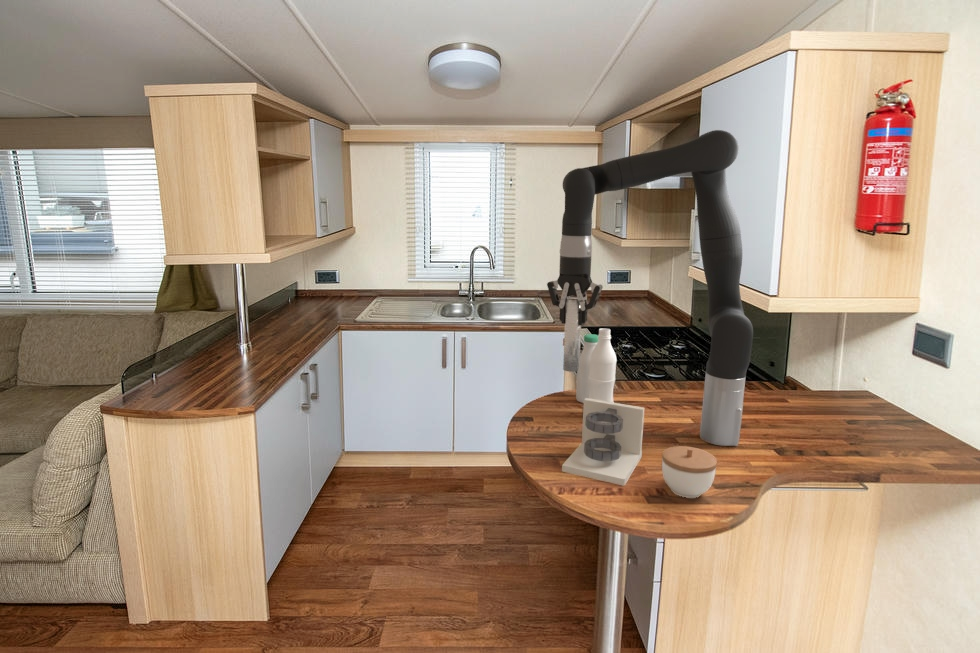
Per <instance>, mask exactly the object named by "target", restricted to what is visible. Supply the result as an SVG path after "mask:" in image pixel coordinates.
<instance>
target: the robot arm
mask: <svg viewBox="0 0 980 653" xmlns="http://www.w3.org/2000/svg"><path fill="white" fill-rule="evenodd" d="M739 149H740V145H739V143H738V139H737V138H736V137H735V135H733V134H732V133H731V132H728V131H726V130H722V129H715V130H711V131H707V132H706V133H703V134H701V135H699V136H697V137H696V138H695V139H693V140H690V141H687V142H685V143H682V144H679V145H676V146H672V147H667V148H664V149H660V150H659V149H658V150H653V151H649V152H644V153H639V154H633V155H629V156H623V157H620V158H617V159H612V160H610V161H606V162H604V163H601V164H597V165H591V166H587V167H581V168H580V167H579V168H574V169H572V170H570V171H569V172H567V174H565V175H564V178H563V179H562V189H563V192H564V212H563V214H562V219H561V220H562V221H561V225H562V226H561V240H560V248H559V269H558V270H559V271H558V272H559V276H558V277H557V279H556V280H552V281H549V282H547V283H546V286H547V289H548V292H549V296H550V300H551V304H552V305H553V306H556V307H558V308H559V321H560V322H561V324H564V325H565V306H566V299H567V298H570V297H575V298H578V302H579V304H580V309H581V310H580V316H579V325H581V327H582V326H584V325H585V324H586V323H587V321H588V310H591V309H593V308H595V307H596V305H597V302H598V300H599V297H600V295H601V293H602V290H603V285H602V284H597V283H594V282H593V280H592V277H591V275H592V274H591V270H592V250H593V246H592V245H593V243H592V242H593V240H592V232H593V231H592V227H593V225H592V224H593V209H594V202H595V195H599V194H602V193H607V192H617V191H620V190H626V189H629V188H633V187H637V186H641V185H645V184H648V183H651V182H655V181H657V180H662V179H664V178H665V179H666V178H669V177H672V176H677V175H681V174H687V173H691V176H692V181H693V185H694V190H695V196H696V210H697V214H696V215H697V221H698V222H697V223H698V235H699V236H698V238H699V247H700V256H701V260H702V267H703V268H702V269H703V273H704V277H705V282H706V287H707V293H708V323H707V324H708V325H707V326H708V333H709V334H710V337H711V339H710V348H709V349H710V350H709V356H708V360H707V361H706V366H705V367H706V368H705V377H704V386H703V387H704V388H703V396H702V410H701V418H700V429H699V437H700V439H701V440H703V441H704V442H706V443H709V444H711V445H715V446H724V447H725V446H726V447H728V446H729V447H730V446H733V447H738V446H739V442H740V435H741V427H742V420H743V419H742V418H743V409H744V408H743V407H744V397H745V396H744V394H745V384H746V376H747V370H748V369H749V366H750V362H751V355H752V348H753V341H754V340H753V339H754V327H753V323H752V322H751V320H750V319H749V318H748V317H747V316H746V315H745V311H744V308H743V302H742V297H741V296H742V295H741V290H740V279H741V275H742V274H741V272H742V263H743V243H742V242H743V241H742V234H741V233H742V230H741V226H740V223H739V219H738V217H737V214H736V211H735V208H734V206H733V203H732V201H731V199H730V195H729V191H728V186H727V169H728V168H729V167H730V166H731V165H732V164H733V163H734V162H735V161H736V159H737V157H738V154H739V151H740V150H739ZM559 287H560V290H561V291H562V292H561V296H560V295H559V293H558V288H559ZM589 289H590V292H591V293H592V294H591V296H590V298H589V302H588V296H587V291H588V290H589Z"/></svg>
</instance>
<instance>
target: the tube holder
mask: <svg viewBox="0 0 980 653" xmlns="http://www.w3.org/2000/svg"><path fill="white" fill-rule="evenodd" d="M613 402H614V401H613ZM613 402H607V401H602V400H596V399H590V398H585V399H584V403H583V406H582V408H583V411H582V429H581V430H582V431H581V432H582V433H581V434H582V435H581V443H579V446H577V448H576V449H575V450H574V451H573V452H572V453H571V455H570V456H569V457H568V458H567V459H566V460H565V462H564V463H563V464H562V465H561V472H564V473H566V474H571V475H575V476H580V477H584V478H587V479H588V478H589V479H593V480H597V481H601V482H606V483H609V484H613V485H619V486H623V487H625V486H626V484H627V483H628V480H629V479H630V477H631V475H632V473H633V472H634V471H635V468H636V467H637V465H638V464H639V462H640V460H641V459H642V455H643V451H642V450H643V449H642V446H643V433H644V432H643V430H644V421H645V407H643V406H642V407H641V406H635V405H630V404H623V403H619V402H614V403H613ZM608 408H611V409H617V415H619V416H621V417H622V419H623V429H622V430H621V431H620V432H617V433H614V434H609V435H615V441H616V442H618V443H619V444H620V445H621V456H620V458H619V459H617V460H614V461H598V460H593V459H591V458H589V457H587V456H586V455H585V453H584V443H585V442H586V441H587V440H589V439H593V438H604V437H605V436H606V434H604V433H597V432H593V431H591V430H589V429H587V427H586V425H585V420H586V416H587V415H588V414H589V413H592V412H605V411H606V410H607V409H608ZM600 423H610V422H604V421H601V422H600ZM594 449H595V450H600V451H611V450H610V449H606V448H594Z"/></svg>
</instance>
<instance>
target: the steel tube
mask: <svg viewBox="0 0 980 653" xmlns="http://www.w3.org/2000/svg"><path fill="white" fill-rule="evenodd" d="M580 310H581V309H580V304H579V302H578V298H577V297H575V296H570V298H567V299H566V306H565V324H564V334H563V335H564V338H562V346H563V362H562V363H563V364H562V367H563V368H562V369H563V371H565V372H569V373H570V372H571V373H575V372H577V371H579V362H580V355H581V334H582V326H581V325H579V316H580Z"/></svg>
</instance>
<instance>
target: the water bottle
mask: <svg viewBox="0 0 980 653" xmlns="http://www.w3.org/2000/svg"><path fill="white" fill-rule="evenodd" d="M598 335H599V336H598V338H599V339H598V343H597V345H596V346H595V348H594V350H593V351H592V353H591V356H590V375H589V381H590V394H589V398H590V399H596V400H602V401H607V402H613V403H615V402H614V387H615V382H616V367H617V354H616V352H615V350H614V348H613V346H612V343H611V339H612V335H611V329H610V328H605V327H604V328H599V329H598Z"/></svg>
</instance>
